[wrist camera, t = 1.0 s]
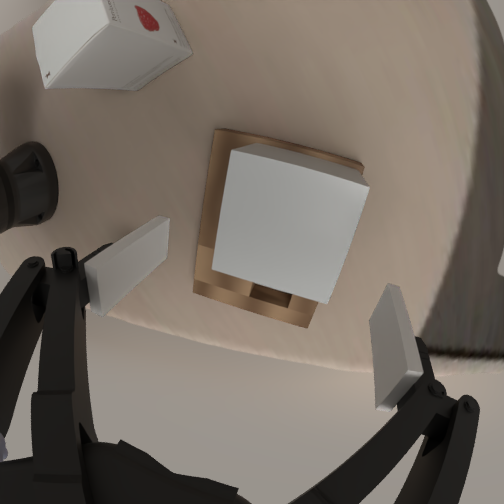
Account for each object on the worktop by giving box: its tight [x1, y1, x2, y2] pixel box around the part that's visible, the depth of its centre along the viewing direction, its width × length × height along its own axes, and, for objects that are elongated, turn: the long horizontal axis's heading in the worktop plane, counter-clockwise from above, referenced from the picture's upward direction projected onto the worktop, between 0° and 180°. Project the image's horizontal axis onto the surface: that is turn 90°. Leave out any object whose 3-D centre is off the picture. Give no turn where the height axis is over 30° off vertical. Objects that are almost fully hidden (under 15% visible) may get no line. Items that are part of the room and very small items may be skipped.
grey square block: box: [212, 143, 370, 304], centre depth 25 cm, size 10×10×8 cm
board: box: [193, 129, 364, 328], centre depth 30 cm, size 15×20×8 cm
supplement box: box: [32, 0, 193, 91], centre depth 20 cm, size 9×9×15 cm
